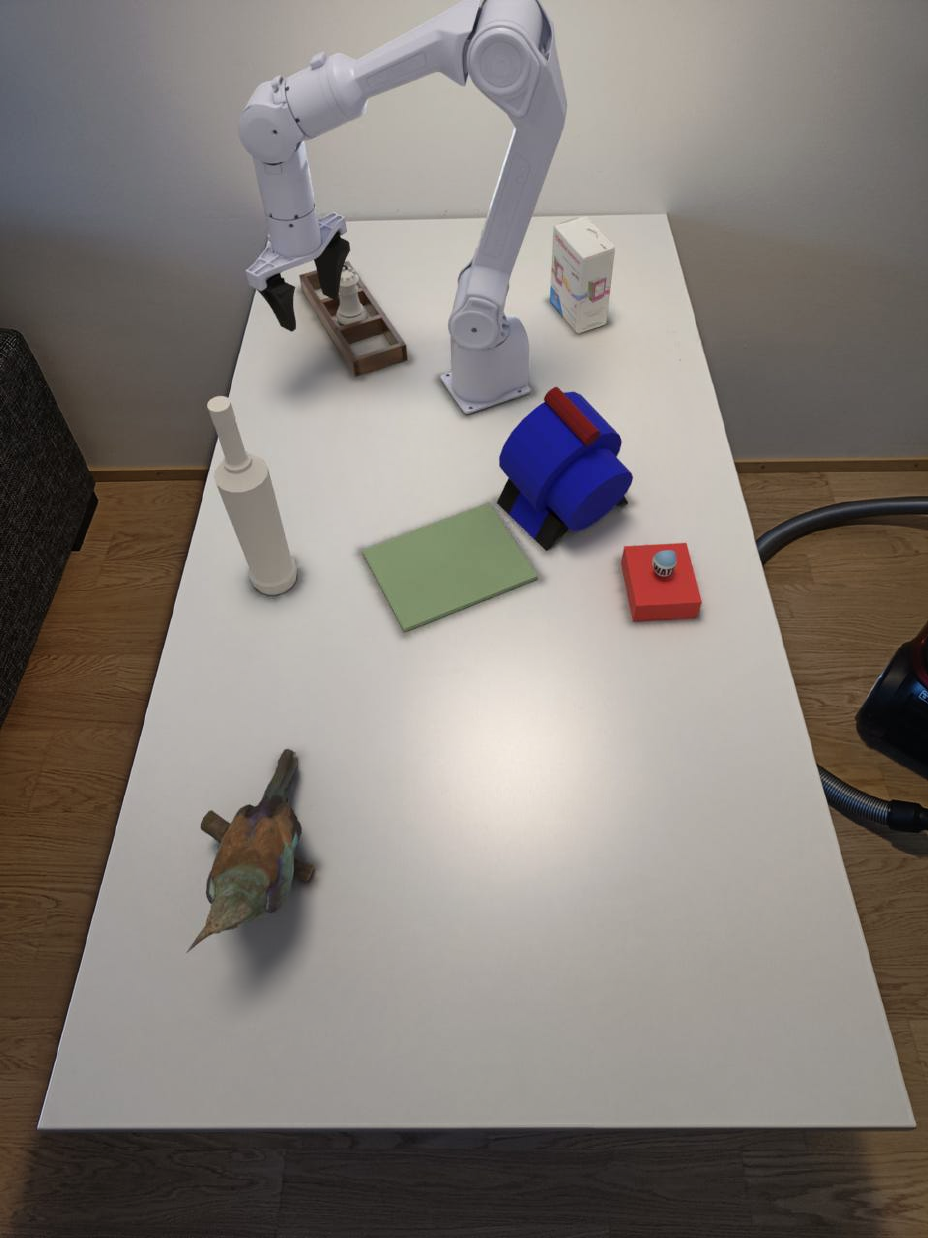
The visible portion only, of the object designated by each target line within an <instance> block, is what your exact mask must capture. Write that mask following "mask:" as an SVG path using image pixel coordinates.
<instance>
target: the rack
mask: <svg viewBox="0 0 928 1238" xmlns="http://www.w3.org/2000/svg"><path fill="white" fill-rule="evenodd" d="M343 267H345V270H348V267H350V268H352V270H354V271H355V274H356V275H357V276H358V278H359V279H358V282H357V283H356V285H357V286H358V291H357V294H358V298H359V301H360V303H361V304H362V306H363V307H364V308H365V309H367V310H366V311H368V313H369V314H370V315H371V316H370V317H368V318H367V319H363V320H360V321H357V322H354V323H350V324H347V325H344V326H341V327H338V325H337V323H336V322H335V320H334V318H333V317H332V316H336V314H337V311H338V308H339V306H340V295H339V296H338V298H337V299H336V300H333V299H331V298H329V297H325V298H320V297H319V295H318V294H317V292H316V290H321V287H320V283H319V278H318V273H317V269H316V270H312V271H308V272H305V273H302V274H299V276H298V277H299V282H300V287H301V291H302V293H303V295H304V296H305V298H306V300H307V301H308V302H309V304H310V306H311V307H312V309H313V310H314V312H315V314H316V315H317V317H318V319H319V320H320V322H321V324H322V326H324V328H325V331H326V332H327V333H328V335H329V336H330V338H331V340H332V341H333V343H334V345H335V346H336V348H337V350H338V351H339V353H340V354H341V356H342V358H343V359H344V361H345V363H346V364H347V366H348V368H349V369H350V371H351V373H352V374H353V376H354V377H355V378H356V377H359V376H361V375H365V374H368V373H371V372H374V371H377V370H381V369H384V368H386V367H390V366H393V365H396V364H399V363H402V362H405V361H408V348H407V344H406V342H405V341H404V339H403V338H402V336H401V335H400V334H399V332H398V331H397V329H396V328H395V327H394V324H393V323H392V322H391V320H390V319H389V317H388V316H387V315H386V313H385V312H384V310H383V309H382V307H381V305H380V304H379V303H378V301H377V300H376V299H375V297H374V296H373V294H372V293H371V291H370V290H369V288H368V287H367V285H366V284H365V283H364V281H363V279H362V278H361V276H360V275H359V274H358V272H357V271H356V269H355V268H354V266H353V264H351V262H350V260H347V261H346V260H345V263H344V266H343ZM380 334H383V335H384V336H385V338H386V340H387V341H388V343H389V344H390V345H389V346H385V347H382V348H379V349H375V350H373V351H370V352H367V353H364V354H360V355H357V356H356V354H355V352H354V350H353V349H352V348H351V346H350V345H349V344H352V343H355V342H358V341H361V340H364V339H368V338H372V337H375V336H378V335H380Z"/></svg>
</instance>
